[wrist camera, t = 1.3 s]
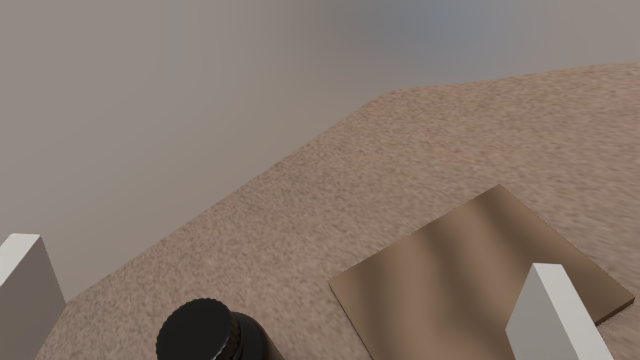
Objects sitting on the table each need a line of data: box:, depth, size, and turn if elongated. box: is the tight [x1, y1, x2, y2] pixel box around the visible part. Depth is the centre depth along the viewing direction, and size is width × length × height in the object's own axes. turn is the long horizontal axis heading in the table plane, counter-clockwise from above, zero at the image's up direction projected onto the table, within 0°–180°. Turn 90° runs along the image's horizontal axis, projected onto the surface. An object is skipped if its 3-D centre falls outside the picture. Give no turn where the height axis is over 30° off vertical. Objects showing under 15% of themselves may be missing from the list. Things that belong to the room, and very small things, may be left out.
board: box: [328, 184, 635, 360], centre depth 38 cm, size 18×14×1 cm
